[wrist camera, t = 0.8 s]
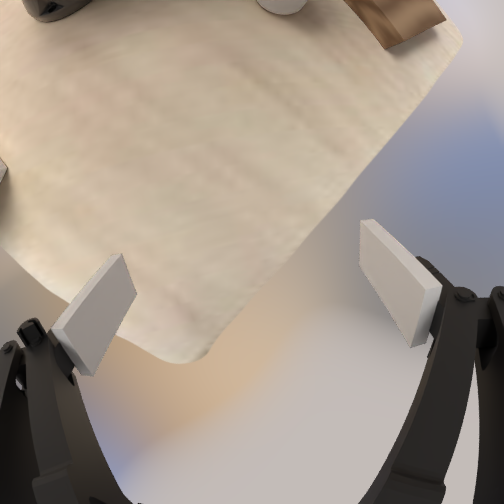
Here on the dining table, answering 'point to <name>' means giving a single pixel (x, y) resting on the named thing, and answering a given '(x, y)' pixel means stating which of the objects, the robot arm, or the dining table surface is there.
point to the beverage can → (282, 6)
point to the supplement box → (2, 170)
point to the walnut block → (396, 18)
